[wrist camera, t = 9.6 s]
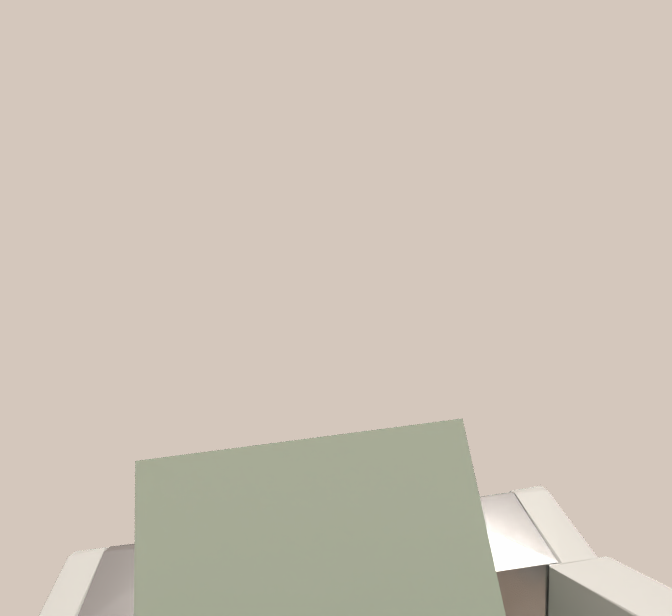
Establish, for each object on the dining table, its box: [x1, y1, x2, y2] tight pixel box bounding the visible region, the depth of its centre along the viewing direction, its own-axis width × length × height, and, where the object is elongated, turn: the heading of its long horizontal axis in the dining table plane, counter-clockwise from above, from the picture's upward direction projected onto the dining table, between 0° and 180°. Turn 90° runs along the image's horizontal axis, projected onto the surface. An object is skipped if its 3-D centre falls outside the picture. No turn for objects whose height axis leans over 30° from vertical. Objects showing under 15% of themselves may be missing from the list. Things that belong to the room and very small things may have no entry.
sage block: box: [134, 419, 506, 616], centre depth 16 cm, size 5×20×5 cm, turn 2°
